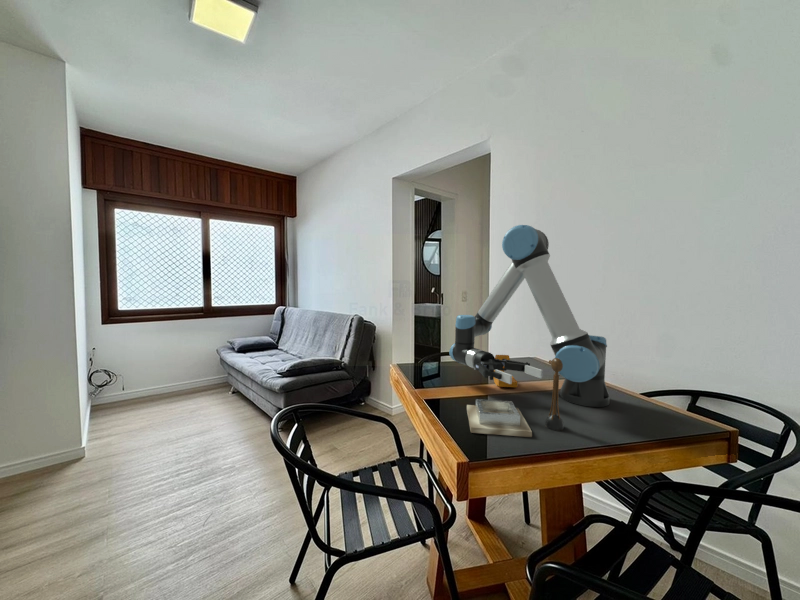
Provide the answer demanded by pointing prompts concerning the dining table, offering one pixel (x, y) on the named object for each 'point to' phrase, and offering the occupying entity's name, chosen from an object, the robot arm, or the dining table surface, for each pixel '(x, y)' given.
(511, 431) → the stand
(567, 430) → the dining table surface
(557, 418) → the wooden tabletop sculpture
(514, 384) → the bracket
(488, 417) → the collar
